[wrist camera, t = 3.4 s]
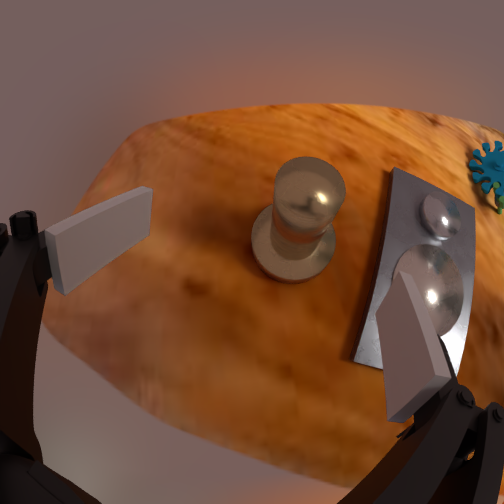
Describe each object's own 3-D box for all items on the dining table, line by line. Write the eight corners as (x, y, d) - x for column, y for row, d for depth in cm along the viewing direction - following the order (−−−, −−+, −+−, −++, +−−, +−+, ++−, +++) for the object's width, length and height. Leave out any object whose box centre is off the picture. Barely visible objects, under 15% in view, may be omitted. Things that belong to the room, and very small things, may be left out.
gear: (469, 135, 27) (525, 140, 19) (475, 162, 30) (526, 168, 22) (465, 194, 25) (531, 204, 17) (469, 219, 29) (527, 230, 21)
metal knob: (337, 224, 25) (376, 160, 15) (317, 295, 23) (357, 263, 13) (267, 200, 25) (270, 126, 16) (240, 268, 23) (227, 218, 14)
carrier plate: (469, 212, 25) (480, 203, 22) (447, 383, 19) (461, 385, 17) (390, 172, 26) (398, 160, 24) (348, 360, 21) (358, 362, 18)
